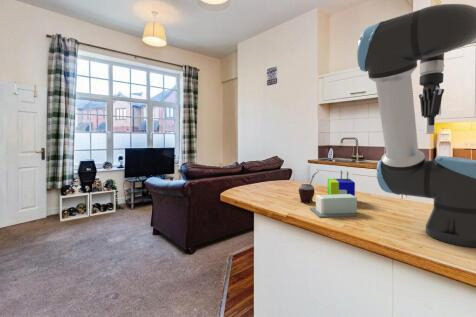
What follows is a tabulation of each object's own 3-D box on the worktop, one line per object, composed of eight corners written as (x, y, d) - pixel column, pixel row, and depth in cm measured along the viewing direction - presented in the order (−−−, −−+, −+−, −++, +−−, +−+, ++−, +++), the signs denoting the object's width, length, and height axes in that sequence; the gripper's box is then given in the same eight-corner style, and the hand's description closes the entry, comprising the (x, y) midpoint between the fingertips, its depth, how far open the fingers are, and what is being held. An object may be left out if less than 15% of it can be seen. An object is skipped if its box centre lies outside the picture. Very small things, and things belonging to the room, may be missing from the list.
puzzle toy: (354, 204, 112) (354, 182, 111) (330, 204, 114) (331, 182, 113) (349, 199, 122) (349, 178, 121) (327, 198, 124) (327, 178, 123)
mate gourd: (296, 200, 121) (296, 169, 120) (311, 199, 123) (310, 168, 122) (304, 204, 114) (303, 171, 113) (319, 203, 116) (319, 170, 114)
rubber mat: (342, 208, 107) (342, 206, 107) (355, 216, 96) (355, 214, 96) (310, 209, 106) (310, 208, 106) (319, 217, 95) (319, 216, 95)
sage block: (349, 194, 104) (315, 195, 103) (357, 197, 98) (321, 198, 97) (349, 208, 104) (315, 209, 104) (356, 212, 98) (321, 213, 98)
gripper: (453, 68, 93) (450, 133, 95) (432, 77, 106) (430, 133, 108) (430, 70, 94) (428, 133, 96) (412, 78, 107) (410, 134, 109)
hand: (429, 133), depth 102 cm, fingers closed
